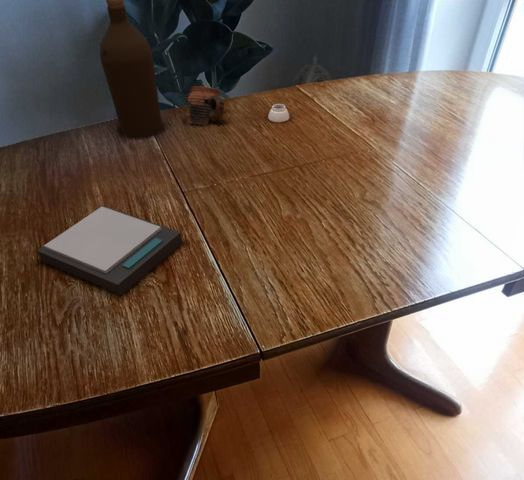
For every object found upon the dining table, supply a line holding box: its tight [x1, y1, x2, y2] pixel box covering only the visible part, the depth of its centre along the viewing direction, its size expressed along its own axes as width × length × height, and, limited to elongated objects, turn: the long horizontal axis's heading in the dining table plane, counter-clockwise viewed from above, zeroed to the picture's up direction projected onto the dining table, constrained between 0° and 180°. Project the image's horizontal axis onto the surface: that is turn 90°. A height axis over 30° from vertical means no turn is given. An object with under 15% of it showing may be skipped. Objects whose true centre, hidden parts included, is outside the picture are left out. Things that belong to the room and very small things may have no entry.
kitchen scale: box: [36, 205, 184, 297], centre depth 75 cm, size 17×15×3 cm
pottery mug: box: [184, 85, 225, 126], centre depth 109 cm, size 12×10×8 cm
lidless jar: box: [267, 103, 290, 123], centre depth 109 cm, size 5×3×5 cm
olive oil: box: [99, 0, 163, 139], centre depth 98 cm, size 11×11×25 cm
